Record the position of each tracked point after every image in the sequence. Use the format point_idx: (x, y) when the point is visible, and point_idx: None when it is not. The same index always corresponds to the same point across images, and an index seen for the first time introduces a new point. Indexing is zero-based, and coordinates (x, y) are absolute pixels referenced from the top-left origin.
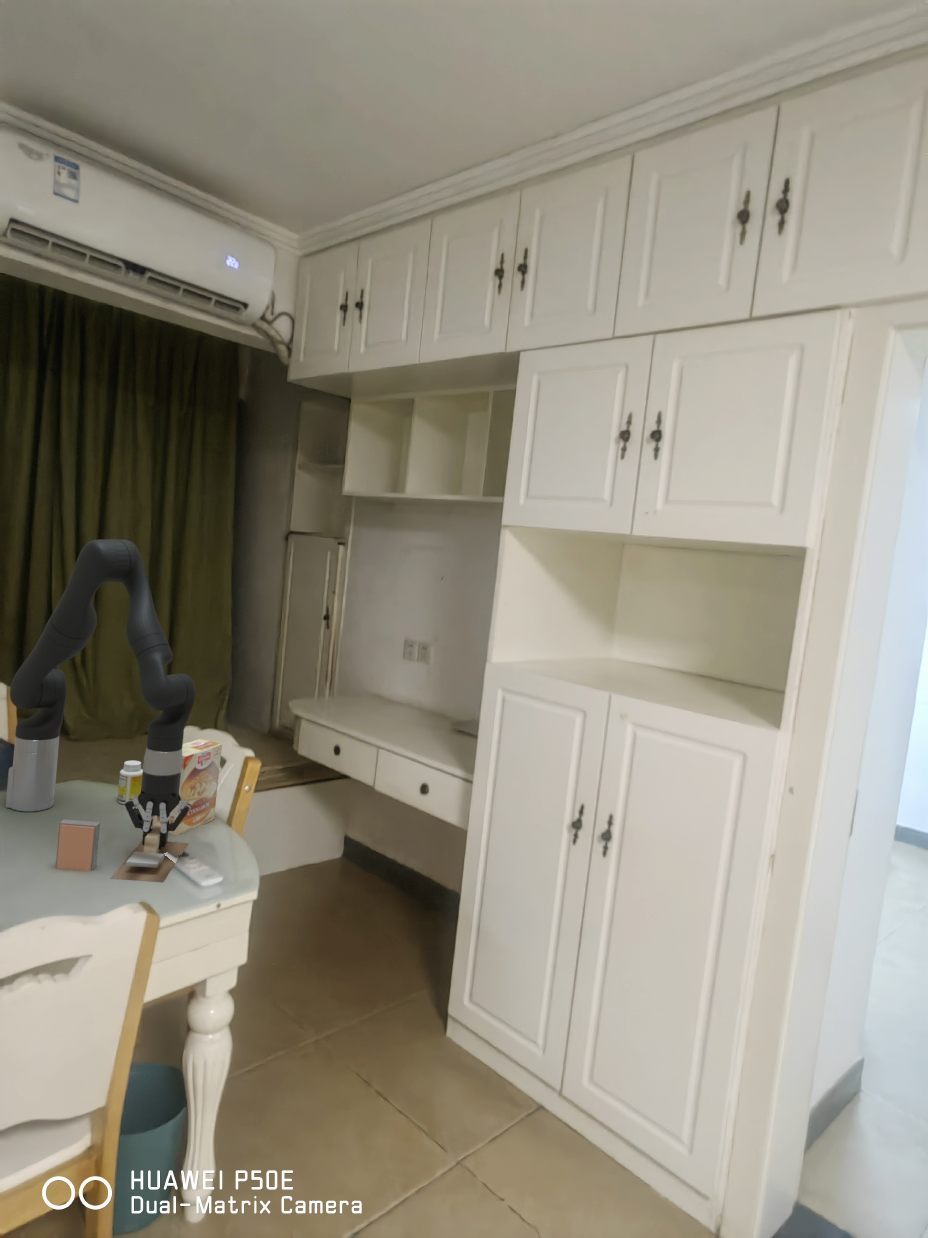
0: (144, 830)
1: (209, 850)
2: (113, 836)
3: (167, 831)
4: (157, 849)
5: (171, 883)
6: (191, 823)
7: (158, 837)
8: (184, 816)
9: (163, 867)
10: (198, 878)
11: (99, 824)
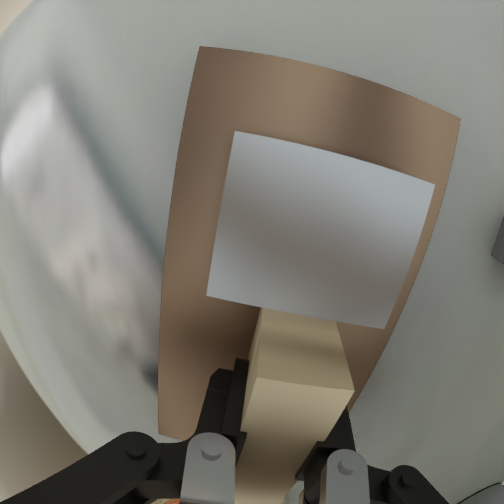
0: (354, 457)
1: (93, 391)
2: (389, 468)
3: (185, 445)
4: (254, 344)
5: (164, 87)
6: (178, 502)
7: (248, 401)
8: (13, 498)
9: (214, 233)
10: (63, 153)
11: None
